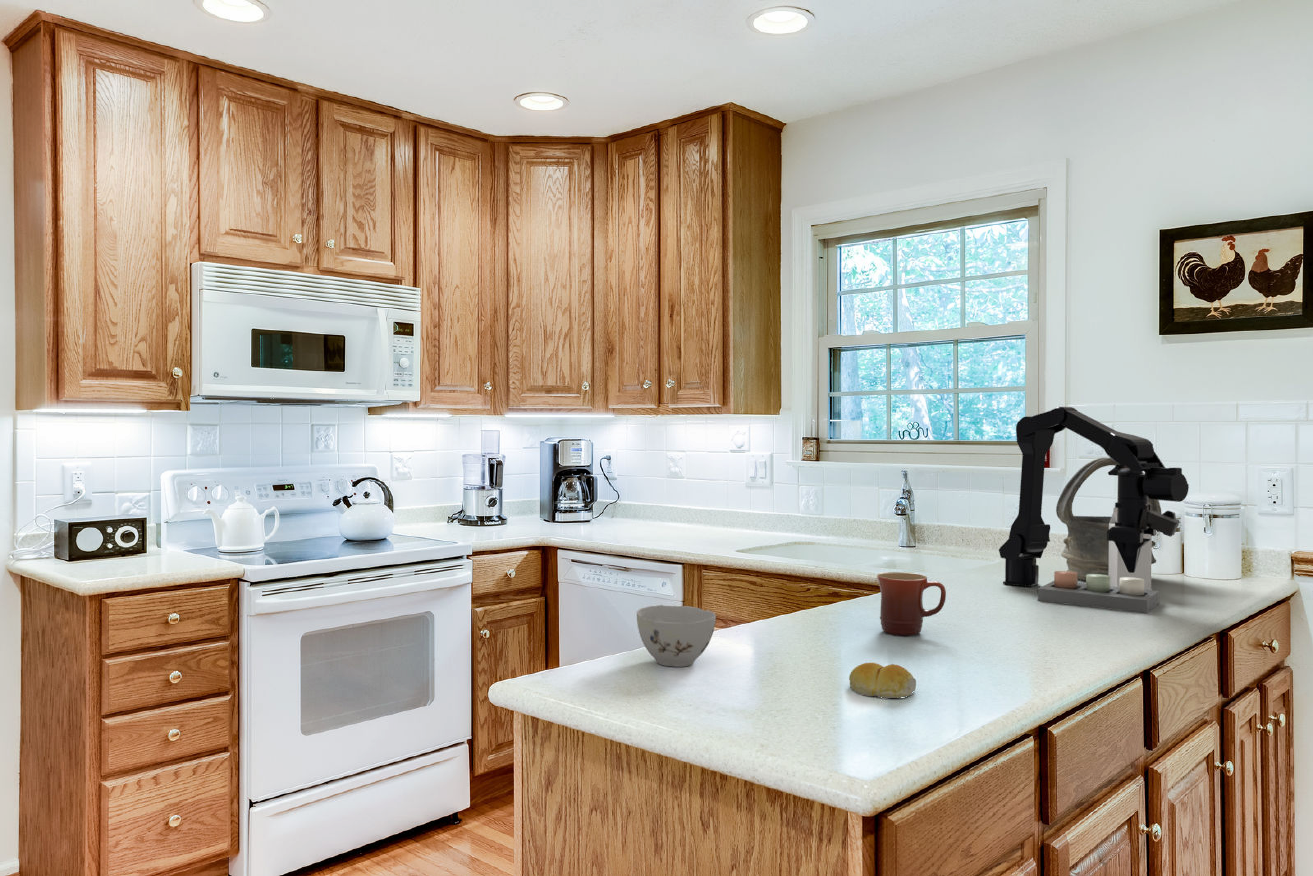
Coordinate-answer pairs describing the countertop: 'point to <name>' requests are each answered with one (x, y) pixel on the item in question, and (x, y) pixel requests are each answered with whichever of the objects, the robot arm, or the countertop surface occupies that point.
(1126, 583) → the cream button
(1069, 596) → the panel
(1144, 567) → the milk carton
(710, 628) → the teacup
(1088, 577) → the sage button
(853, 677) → the bread roll
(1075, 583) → the terracotta button
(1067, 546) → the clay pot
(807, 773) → the countertop surface
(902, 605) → the mug
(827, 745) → the countertop surface
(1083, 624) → the countertop surface
